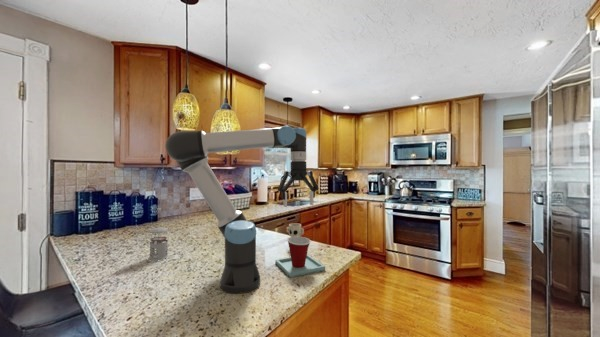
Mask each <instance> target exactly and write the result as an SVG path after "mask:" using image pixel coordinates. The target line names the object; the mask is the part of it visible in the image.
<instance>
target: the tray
mask: <svg viewBox="0 0 600 337" xmlns="http://www.w3.org/2000/svg"><path fill="white" fill-rule="evenodd" d="M274 260H275V265H276V266H277V267H278V268H279V269H280V270H282V272H284V274H286V275H287V276H288V277H289V278H290V279H291V278H297V277H300V276H304V275H310V274H315V273H320V272H324V271H326V266H325V265H324V264H322V263H321V262H319V261H318V260H317V259H315V258H313V257H312V256H310V255H309V254H308V253H307V257H306V262H305V266H304V267H302V268H295V267H293V266H292V261H291V256H289V257H284V258H278V259H274Z"/></svg>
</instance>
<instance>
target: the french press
mask: <svg viewBox="0 0 600 337" xmlns="http://www.w3.org/2000/svg"><path fill="white" fill-rule="evenodd" d="M161 210H162V208H160V207H157V209H156V211H157V212H160V211H161ZM168 230H169V228H166V227H164V226H163V227H162V226H157V227H155V228H152V229H151V230H150V231H149V233H151V236H150V237H151V238H150V242H149V257H148V258H147V259H148V260H151V261H150V262H159V261H158V260H161V261H164V260H163V259H165V258H167V257H169V256H170V254H168V249H169V247H168V246H169V245H168V244H169V242H168V237H167V236H157V235H159V234H162V233H166V232H168ZM153 235H154V237H153ZM169 258H170V257H169ZM167 259H168V258H167ZM148 260H147V261H148ZM165 260H166V259H165Z"/></svg>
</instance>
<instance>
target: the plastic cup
mask: <svg viewBox="0 0 600 337" xmlns="http://www.w3.org/2000/svg"><path fill="white" fill-rule="evenodd" d="M311 242H312V241H311V239H310V238H308V237H303V236H299V237H291V236H289V237H288V238H287V244H288V247H289V248H288V249H289V255H290V256H289V257H291V261H292V266H293V267H295V268H302V267H304V266H305V262H306V257H307V254H308V252H309V247H310V243H311Z"/></svg>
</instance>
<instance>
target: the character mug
mask: <svg viewBox="0 0 600 337" xmlns="http://www.w3.org/2000/svg"><path fill="white" fill-rule="evenodd" d="M286 233H288V235H289V237H302V235H305V229H304V228H302V224H301V223H297V222H296V223H289V224H288V226H286Z"/></svg>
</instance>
